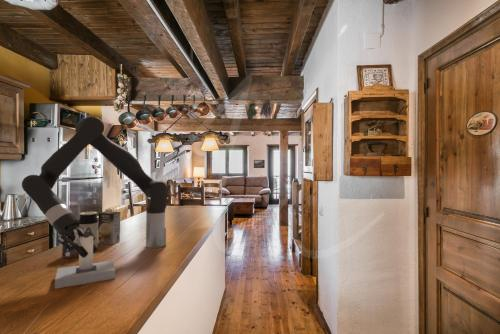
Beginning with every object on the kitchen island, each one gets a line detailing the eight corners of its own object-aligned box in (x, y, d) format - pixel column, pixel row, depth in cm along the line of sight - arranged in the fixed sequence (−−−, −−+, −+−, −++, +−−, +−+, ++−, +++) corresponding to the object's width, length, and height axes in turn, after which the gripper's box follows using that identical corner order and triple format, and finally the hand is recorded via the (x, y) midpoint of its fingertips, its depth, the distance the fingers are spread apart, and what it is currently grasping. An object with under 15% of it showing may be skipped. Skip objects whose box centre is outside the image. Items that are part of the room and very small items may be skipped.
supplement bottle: (70, 259, 123) (70, 233, 123) (58, 258, 124) (59, 232, 124) (81, 255, 129) (81, 230, 129) (69, 254, 130) (70, 229, 130)
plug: (84, 264, 105) (85, 230, 105) (95, 265, 105) (96, 230, 105) (75, 269, 101) (76, 232, 101) (86, 270, 100) (87, 233, 100)
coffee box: (97, 243, 149) (97, 212, 149) (105, 240, 155) (105, 211, 156) (112, 244, 148) (113, 213, 148) (120, 241, 154) (121, 211, 154)
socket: (112, 268, 113) (112, 260, 113) (115, 278, 102) (115, 270, 102) (57, 276, 103) (57, 268, 103) (54, 288, 93) (55, 279, 93)
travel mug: (94, 246, 143) (94, 211, 143) (99, 250, 137) (99, 212, 137) (76, 249, 137) (76, 212, 137) (80, 253, 131) (81, 214, 131)
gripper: (52, 215, 97) (83, 252, 95) (83, 209, 111) (110, 242, 109) (38, 229, 98) (68, 267, 96) (71, 222, 112) (98, 254, 110)
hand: (90, 253), depth 103 cm, fingers closed on plug, 4 cm apart
